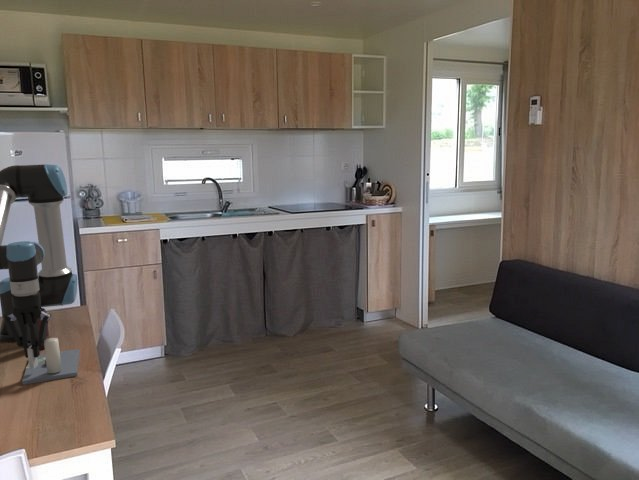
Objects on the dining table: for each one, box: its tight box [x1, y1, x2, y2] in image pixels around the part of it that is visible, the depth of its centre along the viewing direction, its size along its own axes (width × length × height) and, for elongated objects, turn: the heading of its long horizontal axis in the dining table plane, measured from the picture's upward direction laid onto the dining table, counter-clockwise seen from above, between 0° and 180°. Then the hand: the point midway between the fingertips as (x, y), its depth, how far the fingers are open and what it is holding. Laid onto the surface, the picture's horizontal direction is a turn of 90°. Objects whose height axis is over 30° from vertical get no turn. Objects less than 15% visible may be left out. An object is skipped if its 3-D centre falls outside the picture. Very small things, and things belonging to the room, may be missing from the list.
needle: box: [44, 337, 62, 373], centre depth 170 cm, size 19×4×10 cm, turn 30°
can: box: [29, 307, 50, 351], centre depth 188 cm, size 6×6×14 cm
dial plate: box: [21, 348, 81, 386], centre depth 171 cm, size 22×15×1 cm
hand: (33, 367), depth 164 cm, fingers closed
